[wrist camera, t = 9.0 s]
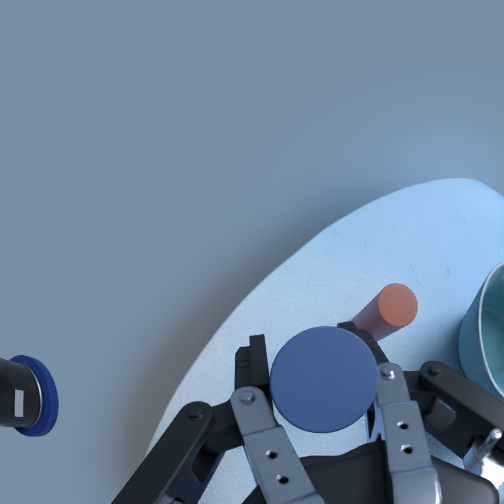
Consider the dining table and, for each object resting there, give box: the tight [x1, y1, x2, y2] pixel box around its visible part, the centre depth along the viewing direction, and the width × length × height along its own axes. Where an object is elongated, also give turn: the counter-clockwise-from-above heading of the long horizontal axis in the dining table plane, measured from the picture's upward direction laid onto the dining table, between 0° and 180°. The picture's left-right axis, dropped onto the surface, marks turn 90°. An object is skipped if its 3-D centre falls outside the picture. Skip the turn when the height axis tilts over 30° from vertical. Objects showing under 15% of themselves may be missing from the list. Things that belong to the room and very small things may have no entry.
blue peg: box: [270, 326, 378, 433], centre depth 13 cm, size 4×4×9 cm
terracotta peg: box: [352, 283, 417, 342], centre depth 25 cm, size 4×4×9 cm
